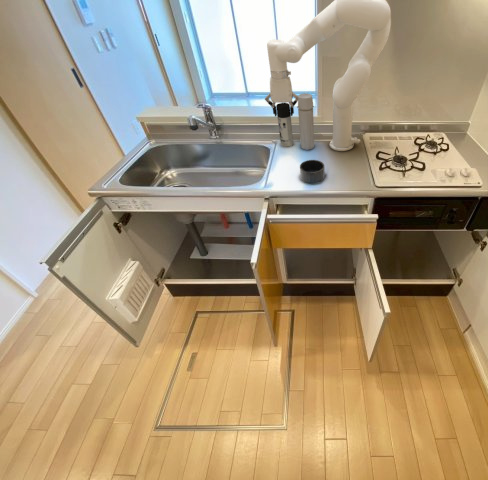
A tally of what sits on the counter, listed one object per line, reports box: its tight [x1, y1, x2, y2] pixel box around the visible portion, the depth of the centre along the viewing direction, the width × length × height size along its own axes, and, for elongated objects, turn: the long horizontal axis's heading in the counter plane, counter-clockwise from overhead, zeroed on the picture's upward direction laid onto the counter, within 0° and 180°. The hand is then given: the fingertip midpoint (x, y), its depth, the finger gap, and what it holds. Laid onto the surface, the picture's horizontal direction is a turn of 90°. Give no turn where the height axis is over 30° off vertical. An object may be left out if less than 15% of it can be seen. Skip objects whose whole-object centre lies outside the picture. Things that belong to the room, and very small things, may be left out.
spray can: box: [275, 102, 294, 148], centre depth 135 cm, size 7×7×20 cm
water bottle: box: [296, 93, 315, 151], centre depth 131 cm, size 9×8×25 cm
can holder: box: [299, 159, 326, 185], centre depth 118 cm, size 11×11×6 cm
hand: (283, 114), depth 131 cm, fingers open, 7 cm apart
